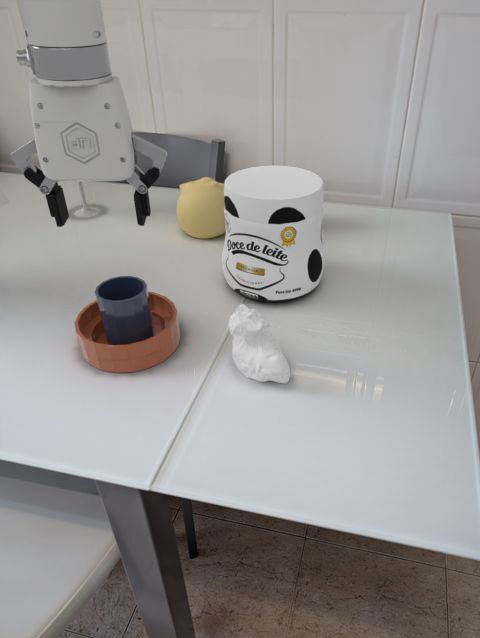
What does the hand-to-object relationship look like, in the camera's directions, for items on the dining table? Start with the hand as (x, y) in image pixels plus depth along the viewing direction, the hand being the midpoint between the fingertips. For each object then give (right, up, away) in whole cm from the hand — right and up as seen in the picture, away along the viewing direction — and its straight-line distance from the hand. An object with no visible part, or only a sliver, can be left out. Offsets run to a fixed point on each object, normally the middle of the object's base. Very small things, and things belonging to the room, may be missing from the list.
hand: (103, 221), depth 61 cm
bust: (+19, -19, +7) cm, 28 cm away
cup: (+1, -15, +11) cm, 18 cm away
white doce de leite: (+22, -4, +25) cm, 33 cm away
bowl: (+1, -15, +12) cm, 19 cm away
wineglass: (-19, +14, +49) cm, 55 cm away
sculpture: (+8, +9, +42) cm, 44 cm away
